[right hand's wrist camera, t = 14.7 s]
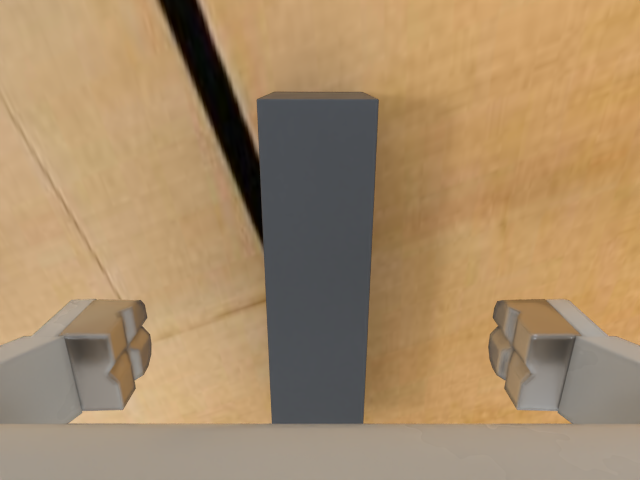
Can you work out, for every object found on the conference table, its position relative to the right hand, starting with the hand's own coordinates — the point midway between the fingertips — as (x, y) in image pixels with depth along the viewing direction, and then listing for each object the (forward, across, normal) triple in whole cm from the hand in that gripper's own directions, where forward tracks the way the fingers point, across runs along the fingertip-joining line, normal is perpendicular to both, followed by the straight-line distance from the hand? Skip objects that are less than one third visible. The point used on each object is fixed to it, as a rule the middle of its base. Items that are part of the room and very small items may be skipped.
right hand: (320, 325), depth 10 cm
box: (+23, 0, -9) cm, 25 cm away
